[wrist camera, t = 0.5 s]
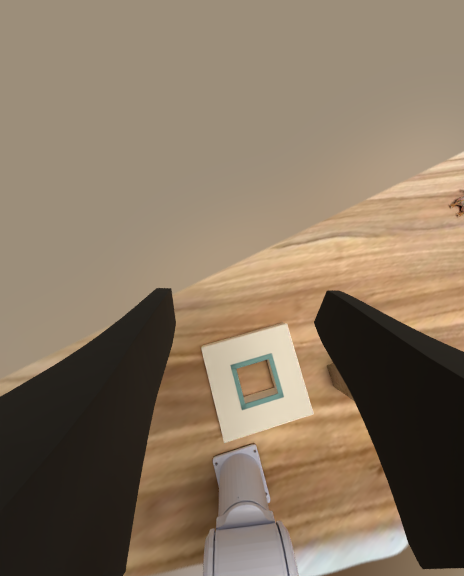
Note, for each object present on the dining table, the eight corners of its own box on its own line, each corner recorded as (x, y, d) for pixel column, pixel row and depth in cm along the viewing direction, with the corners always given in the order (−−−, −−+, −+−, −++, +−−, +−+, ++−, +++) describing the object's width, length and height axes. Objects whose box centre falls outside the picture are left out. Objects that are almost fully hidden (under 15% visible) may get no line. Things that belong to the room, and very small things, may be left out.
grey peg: (352, 380, 36) (383, 397, 29) (333, 386, 35) (360, 404, 29) (346, 359, 36) (375, 371, 29) (326, 365, 36) (351, 378, 29)
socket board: (307, 406, 35) (314, 414, 32) (224, 433, 34) (224, 444, 31) (282, 322, 36) (287, 323, 34) (202, 345, 35) (201, 348, 33)
